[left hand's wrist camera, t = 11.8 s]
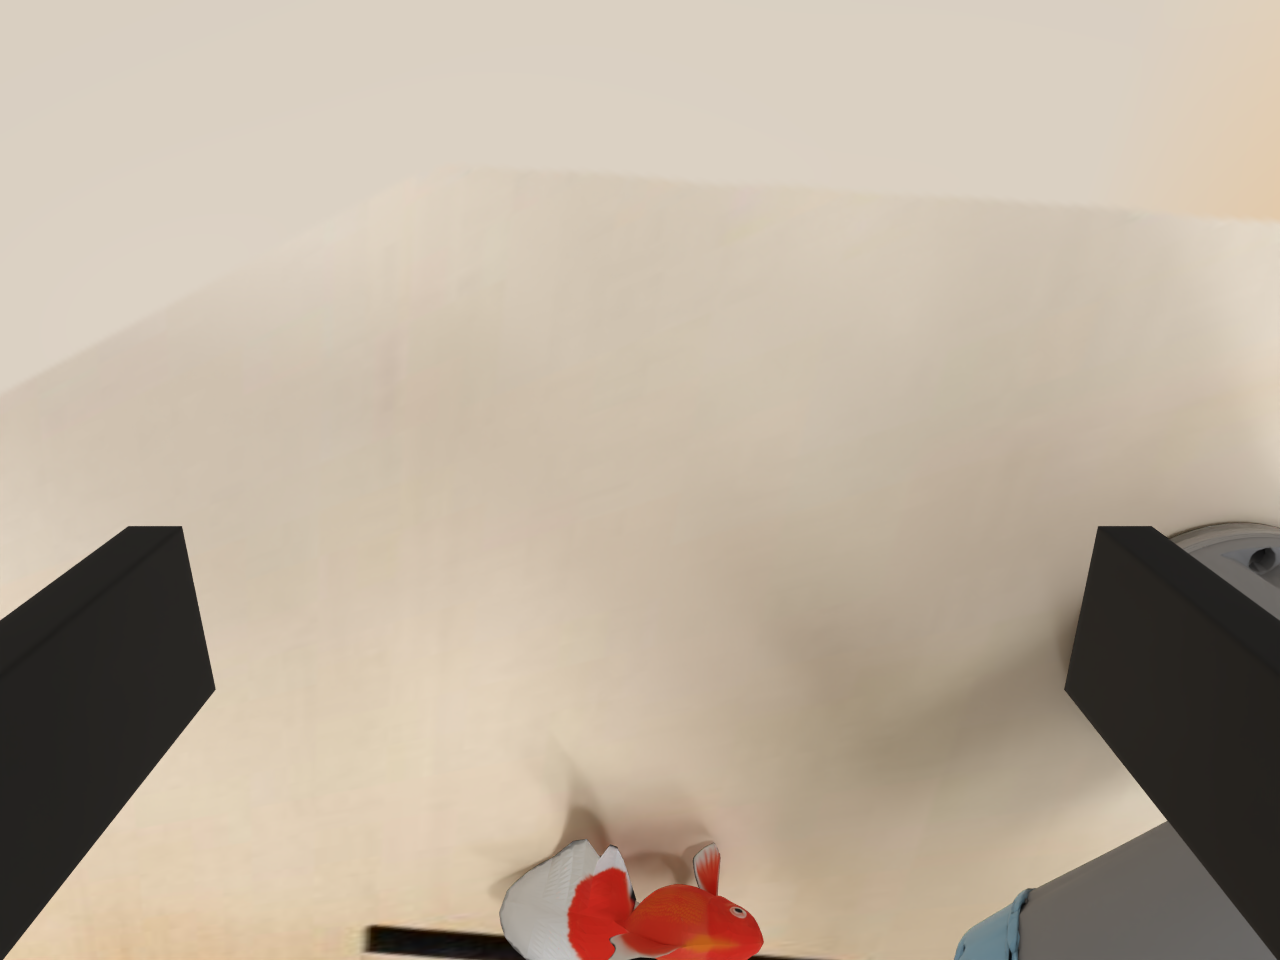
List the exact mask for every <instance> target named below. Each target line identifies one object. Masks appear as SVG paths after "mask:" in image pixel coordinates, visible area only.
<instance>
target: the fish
mask: <svg viewBox="0 0 1280 960" xmlns="http://www.w3.org/2000/svg"><path fill="white" fill-rule="evenodd" d="M693 866H694V873H695V877H696V881H697V884H698V887H699V888H697V887H694V886H689V885H683V884H674V885H669V886H665V887H663V888H660V889H658V890H656V891H654V892H653V893H652V894H650V895H649V896H648V897H646V898H645V899H644V900H643V901H642V902H641V903H638V902H637V901H636V898H635V894H634V891H633V888H632V885H631V881H630V878H629V875H628V872H627V869H626V866H625V863H624V861H623V858H622V856H621V854H620V852H619V850H618V848H617V847H616V846H613V845H610V846H609V847H608V848H607V849H606V851H605V852H604V853H603V854H602V856H601V857H599V855H598V854H597V852H596V851H595V850H594V848H593V847H592V845H591V844H590V843H589V841H588V840H587V839H584V840H577V841H573V842H571V843H570V844H569V845H568V846H566V847H565V848H564V849H563V850H561V851H560V852H559V853H558V854H556V855H555V856H554V857H553V858H551V859H549V860H547V861H545V862H543V863H541V864H539V865H537V866H536V867H534V868H533V869H531V870H530V871H528V872H527V873H526V874H524V875H523V876H522V877H521V878H520V879H518V880H517V881H516V882H515V883H514V884H513V885H512V886H511V887H510V888H509V889H508V890H507V892H506V895H505V898H504V901H503V903H502V906H501V909H500V912H499V915H500V922H501V926H502V929H503V932H504V935H505V937H506V939H507V940H508V941H509V943H510V944H511V945H512V946H513V948H514V949H515V950H516V951H517V952H519V953H520V954H521V955H522V956H523V957H524V958H525V959H526V960H629V959H633V958H638V957H648V958H656V959H658V960H747V959H749V958H750V957H751V956H753V955H754V954H756V953H758V952H759V950H760V948H761V947H762V945H763V943H764V941H763V936H762V933H761V931H760V928H759V926H758V924H757V922H756V920H755V919H754V917H753V916H752V915H751V914H750V913H749V912H748V911H746V910H745V909H744V908H742V907H740V906H738V905H736V904H734V903H732V902H731V901H729V900H727V899H726V898H724V897H722V896H718V879H719V869H720V853H719V852H718V848H717V847H716V845H715V844H714V843H712V844H710V845H708V846H706V847H704V848H703V849H702V850H701V851H699V852H698V853H697V854H696V855H695V857H694V858H693Z"/></svg>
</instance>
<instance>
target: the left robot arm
mask: <svg viewBox="0 0 1280 960" xmlns="http://www.w3.org/2000/svg"><path fill="white" fill-rule="evenodd" d="M215 690H216V689H215V684H214V679H213V674H212V669H211V665H210V660H209V655H208V650H207V645H206V640H205V636H204V631H203V626H202V621H201V616H200V611H199V607H198V602H197V597H196V592H195V587H194V582H193V578H192V573H191V568H190V563H189V558H188V553H187V549H186V544H185V539H184V534H183V529H182V526H128V527H127V528H125V529H124V530H123V531H121V532H120V533H119V534H117V535H116V536H115V537H113V538H112V539H110V540H109V541H108V542H106V543H105V544H104V545H102V546H101V547H100V548H98V549H97V550H95V551H94V552H93V553H91V554H90V555H89V556H87V557H86V558H85V559H83V560H82V561H81V562H79V563H78V564H76V565H75V566H74V567H72V568H71V569H70V570H68V571H67V572H66V573H64V574H63V575H61V576H60V577H59V578H57V579H56V580H55V581H53V582H52V583H51V584H49V585H48V586H47V587H45V588H44V589H42V590H41V591H40V592H38V593H37V594H36V595H34V596H33V597H32V598H30V599H29V600H27V601H26V602H25V603H23V604H22V605H21V606H19V607H18V608H17V609H15V610H14V611H13V612H11V613H10V614H8V615H7V616H6V617H4V618H3V619H2V620H0V960H3V959H4V958H5V956H6V955H7V954H8V953H9V951H10V950H11V949H12V948H13V946H14V945H15V944H16V942H17V941H18V940H19V939H20V937H21V936H22V935H23V934H24V932H25V931H26V930H27V929H28V927H29V926H30V925H31V923H32V922H33V921H34V920H35V918H36V917H37V916H38V915H39V913H40V912H41V911H42V909H43V908H44V907H45V906H46V904H47V903H48V902H49V901H50V899H51V898H52V897H53V895H54V894H55V893H56V892H57V890H58V889H59V888H60V887H61V885H62V884H63V883H64V881H65V880H66V879H67V878H68V876H69V875H70V874H71V873H72V871H73V870H74V869H75V868H76V866H77V865H78V864H79V862H80V861H81V860H82V859H83V857H84V856H85V855H86V854H87V852H88V851H89V850H90V848H91V847H92V846H93V845H94V843H95V842H96V841H97V840H98V838H99V837H100V836H101V834H102V833H103V832H104V831H105V829H106V828H107V827H108V826H109V824H110V823H111V822H112V820H113V819H114V818H115V817H116V815H117V814H118V813H119V812H120V810H121V809H122V808H123V807H124V805H125V804H126V803H127V801H128V800H129V799H130V798H131V796H132V795H133V794H134V793H135V791H136V790H137V789H138V787H139V786H140V785H141V784H142V782H143V781H144V780H145V779H146V777H147V776H148V775H149V773H150V772H151V771H152V770H153V768H154V767H155V766H156V765H157V763H158V762H159V761H160V759H161V758H162V757H163V756H164V754H165V753H166V752H167V751H168V749H169V748H170V747H171V746H172V744H173V743H174V742H175V740H176V739H177V738H178V737H179V735H180V734H181V733H182V732H183V730H184V729H185V728H186V726H187V725H188V724H189V723H190V721H191V720H192V719H193V718H194V716H195V715H196V714H197V712H198V711H199V710H200V709H201V707H202V706H203V705H204V704H205V702H206V701H207V700H208V698H209V697H210V696H211V695H212V693H213V692H214V691H215ZM1064 690H1065V691H1066V692H1067V693H1068V695H1069V696H1070V697H1071V698H1072V700H1073V701H1074V702H1075V704H1076V705H1077V706H1078V707H1079V709H1080V710H1081V711H1082V712H1083V714H1084V715H1085V716H1086V718H1087V719H1088V720H1089V721H1090V723H1091V724H1092V725H1093V726H1094V728H1095V729H1096V730H1097V732H1098V733H1099V734H1100V735H1101V737H1102V738H1103V739H1104V740H1105V742H1106V743H1107V744H1108V746H1109V747H1110V748H1111V749H1112V751H1113V752H1114V753H1115V754H1116V756H1117V757H1118V758H1119V759H1120V761H1121V762H1122V763H1123V765H1124V766H1125V767H1126V768H1127V770H1128V771H1129V772H1130V773H1131V775H1132V776H1133V777H1134V779H1135V780H1136V781H1137V782H1138V784H1139V785H1140V786H1141V787H1142V789H1143V790H1144V791H1145V793H1146V794H1147V795H1148V796H1149V798H1150V799H1151V800H1152V801H1153V803H1154V804H1155V805H1156V807H1157V808H1158V809H1159V810H1160V812H1161V813H1162V814H1163V815H1164V817H1165V818H1166V819H1167V820H1168V821H1166V822H1164V823H1163V824H1161V825H1159V826H1157V827H1155V828H1153V829H1151V830H1149V831H1147V832H1146V833H1144V834H1142V835H1140V836H1138V837H1136V838H1134V839H1132V840H1130V841H1129V842H1127V843H1125V844H1123V845H1121V846H1119V847H1117V848H1115V849H1113V850H1111V851H1109V852H1107V853H1105V854H1103V855H1101V856H1100V857H1098V858H1096V859H1094V860H1092V861H1090V862H1088V863H1086V864H1084V865H1082V866H1080V867H1078V868H1076V869H1074V870H1072V871H1070V872H1068V873H1066V874H1064V875H1062V876H1060V877H1058V878H1056V879H1054V880H1052V881H1050V882H1048V883H1046V884H1044V885H1042V886H1040V887H1038V888H1033V889H1026V890H1024V891H1022V892H1021V893H1020V894H1019V895H1018V896H1017V897H1016V898H1015V900H1014V902H1013V903H1011V904H1010V905H1008V906H1007V907H1005V908H1003V909H1002V910H1000V911H998V912H997V913H995V914H993V915H992V916H990V917H988V918H987V919H985V920H983V921H982V922H980V923H978V924H976V925H975V926H973V927H972V928H971V929H969V930H968V932H966V933H965V935H964V936H963V937H962V939H961V940H960V942H959V944H958V947H957V950H956V955H955V958H954V960H1280V528H1277V527H1273V526H1268V525H1263V524H1253V523H1230V524H1220V525H1214V526H1208V527H1204V528H1200V529H1196V530H1192V531H1189V532H1186V533H1183V534H1180V535H1178V536H1175V537H1173V538H1171V539H1168V538H1167V537H1165V536H1164V535H1163V534H1161V533H1160V532H1159V531H1157V530H1156V529H1155V528H1153V527H1152V526H1098V529H1097V534H1096V539H1095V544H1094V549H1093V553H1092V558H1091V563H1090V568H1089V573H1088V578H1087V582H1086V587H1085V592H1084V597H1083V602H1082V607H1081V611H1080V616H1079V621H1078V626H1077V631H1076V636H1075V640H1074V645H1073V650H1072V655H1071V660H1070V665H1069V669H1068V674H1067V679H1066V684H1065V689H1064Z"/></svg>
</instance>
